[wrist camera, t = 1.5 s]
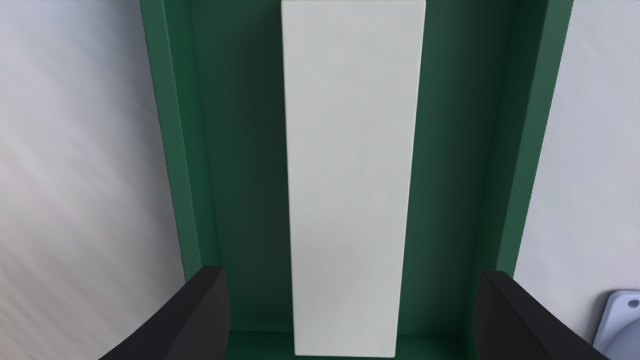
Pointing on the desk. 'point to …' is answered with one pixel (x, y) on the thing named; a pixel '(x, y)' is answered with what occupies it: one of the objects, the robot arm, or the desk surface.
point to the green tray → (426, 171)
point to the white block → (349, 167)
